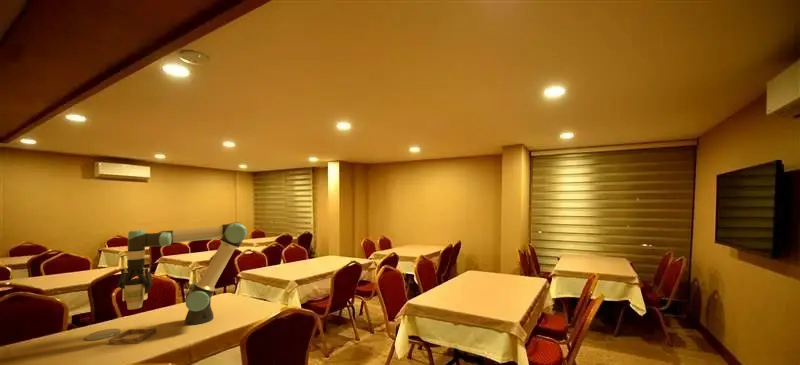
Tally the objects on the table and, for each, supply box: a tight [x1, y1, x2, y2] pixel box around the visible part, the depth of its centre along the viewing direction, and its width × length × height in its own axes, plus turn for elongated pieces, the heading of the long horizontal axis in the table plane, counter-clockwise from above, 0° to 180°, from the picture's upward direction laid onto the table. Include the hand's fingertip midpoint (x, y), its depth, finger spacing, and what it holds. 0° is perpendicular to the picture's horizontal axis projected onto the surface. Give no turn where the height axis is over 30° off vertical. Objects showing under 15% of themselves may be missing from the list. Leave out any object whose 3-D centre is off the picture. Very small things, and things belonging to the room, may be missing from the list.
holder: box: [108, 327, 157, 345], centre depth 177 cm, size 14×14×2 cm
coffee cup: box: [124, 277, 144, 311], centre depth 179 cm, size 10×10×15 cm
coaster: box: [85, 328, 121, 342], centre depth 182 cm, size 14×14×1 cm
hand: (135, 299), depth 179 cm, fingers closed on coffee cup, 10 cm apart
